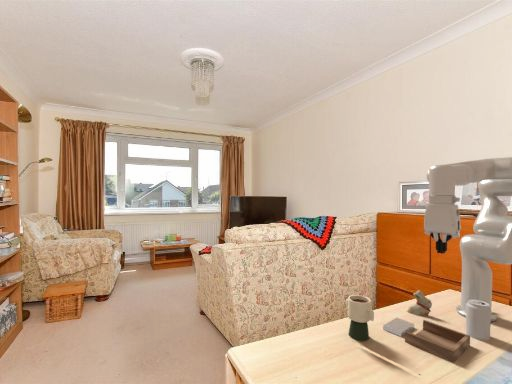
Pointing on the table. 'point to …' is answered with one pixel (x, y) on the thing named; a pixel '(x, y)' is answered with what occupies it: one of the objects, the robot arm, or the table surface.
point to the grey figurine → (420, 305)
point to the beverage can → (478, 319)
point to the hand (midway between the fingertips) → (441, 252)
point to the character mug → (359, 316)
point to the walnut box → (439, 341)
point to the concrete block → (398, 327)
